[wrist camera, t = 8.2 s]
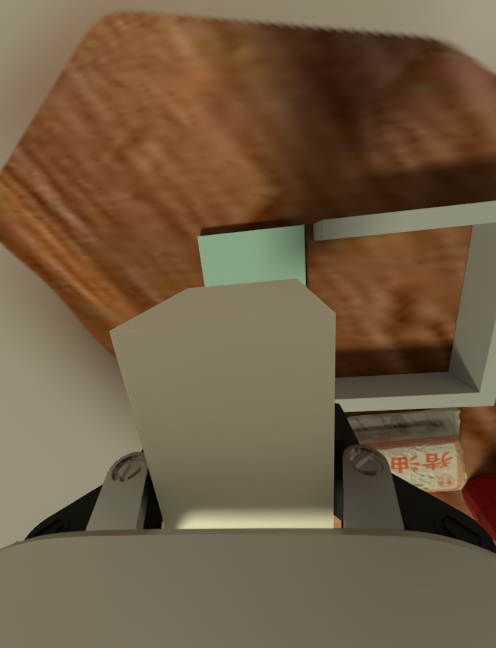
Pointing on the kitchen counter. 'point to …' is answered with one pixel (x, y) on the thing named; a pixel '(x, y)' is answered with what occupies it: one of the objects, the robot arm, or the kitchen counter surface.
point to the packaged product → (417, 446)
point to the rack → (472, 322)
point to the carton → (235, 404)
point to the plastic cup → (482, 501)
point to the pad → (253, 256)
